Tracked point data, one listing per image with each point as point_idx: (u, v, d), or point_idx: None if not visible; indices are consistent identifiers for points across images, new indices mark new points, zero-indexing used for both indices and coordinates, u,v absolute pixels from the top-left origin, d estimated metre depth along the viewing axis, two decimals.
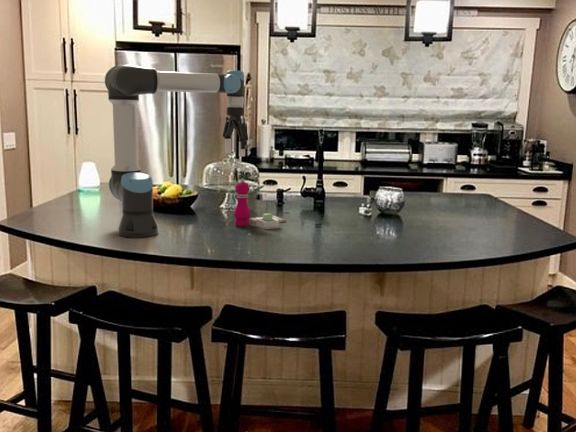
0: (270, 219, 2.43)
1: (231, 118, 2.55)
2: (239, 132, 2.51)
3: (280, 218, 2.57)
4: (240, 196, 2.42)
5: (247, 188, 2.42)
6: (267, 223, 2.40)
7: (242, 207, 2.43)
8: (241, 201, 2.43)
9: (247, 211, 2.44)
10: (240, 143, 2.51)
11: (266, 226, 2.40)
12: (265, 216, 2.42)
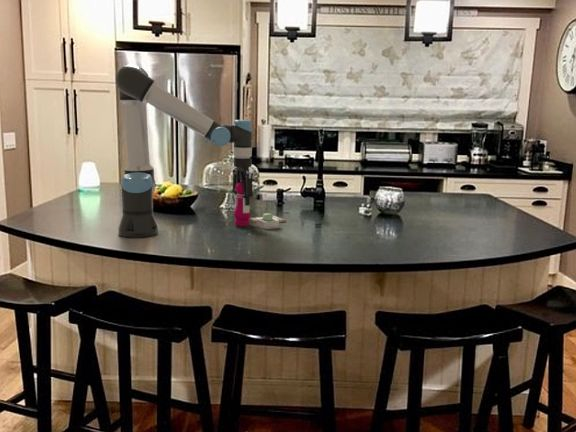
0: (270, 219, 2.43)
1: (238, 167, 2.43)
2: (245, 187, 2.40)
3: (280, 218, 2.57)
4: (240, 196, 2.42)
5: None
6: (267, 223, 2.40)
7: (242, 207, 2.43)
8: (241, 201, 2.43)
9: None
10: (244, 199, 2.41)
11: (266, 226, 2.40)
12: (265, 216, 2.42)
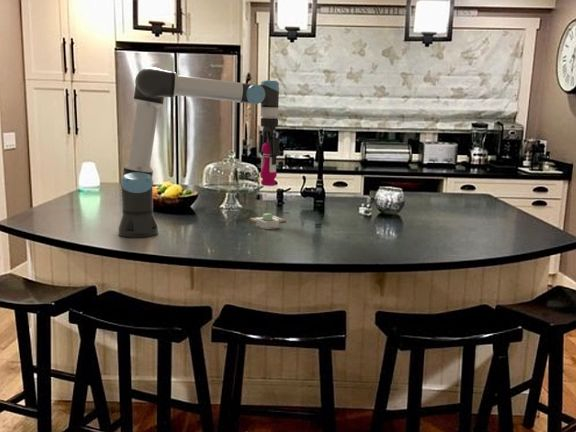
0: (270, 219, 2.43)
1: (265, 128, 2.48)
2: (271, 147, 2.45)
3: (280, 218, 2.57)
4: (267, 156, 2.47)
5: None
6: (267, 223, 2.40)
7: (269, 167, 2.48)
8: (267, 161, 2.48)
9: None
10: (271, 159, 2.46)
11: (266, 226, 2.40)
12: (265, 216, 2.42)
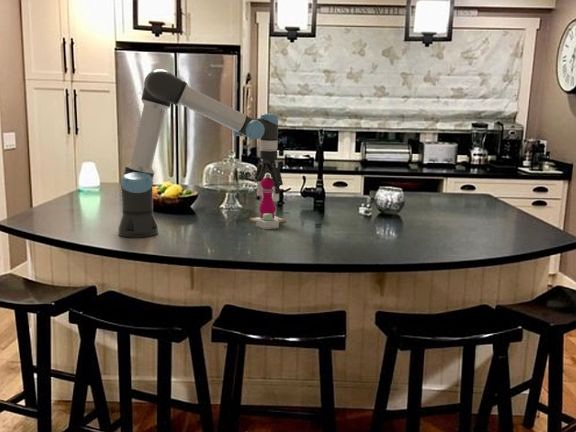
0: (270, 219, 2.43)
1: (264, 161, 2.51)
2: (273, 176, 2.46)
3: (280, 218, 2.57)
4: (266, 191, 2.50)
5: (272, 183, 2.50)
6: (267, 223, 2.40)
7: (267, 202, 2.51)
8: (266, 196, 2.51)
9: (272, 205, 2.52)
10: (274, 188, 2.46)
11: (266, 226, 2.40)
12: (265, 216, 2.42)
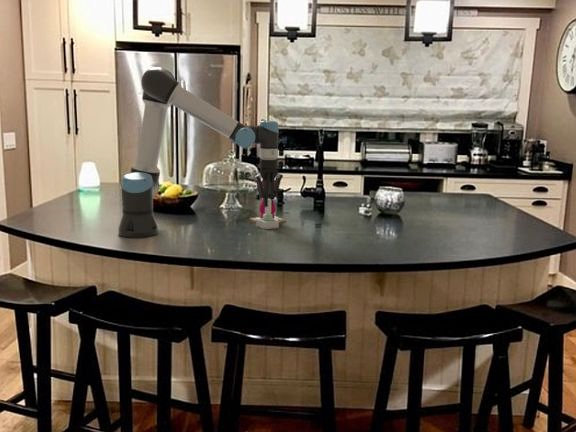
0: (270, 219, 2.43)
1: None
2: (263, 188, 2.41)
3: (280, 218, 2.57)
4: None
5: None
6: (267, 223, 2.40)
7: None
8: None
9: (273, 205, 2.52)
10: None
11: (266, 226, 2.40)
12: (265, 216, 2.42)
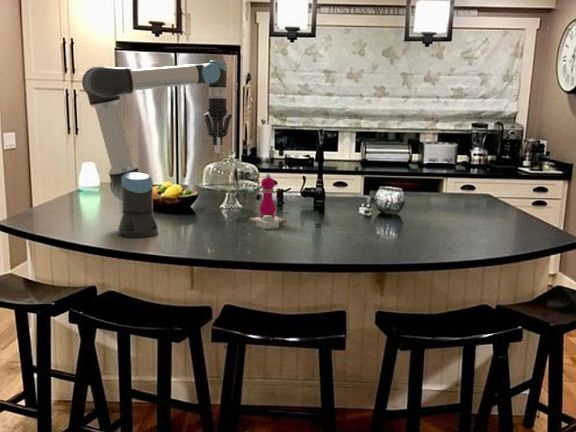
0: None
1: None
2: (212, 127, 2.49)
3: (280, 218, 2.57)
4: (266, 191, 2.50)
5: (273, 183, 2.50)
6: (267, 223, 2.40)
7: (268, 202, 2.51)
8: (267, 196, 2.51)
9: (272, 205, 2.52)
10: None
11: (266, 226, 2.40)
12: (265, 218, 2.42)
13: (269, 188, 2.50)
